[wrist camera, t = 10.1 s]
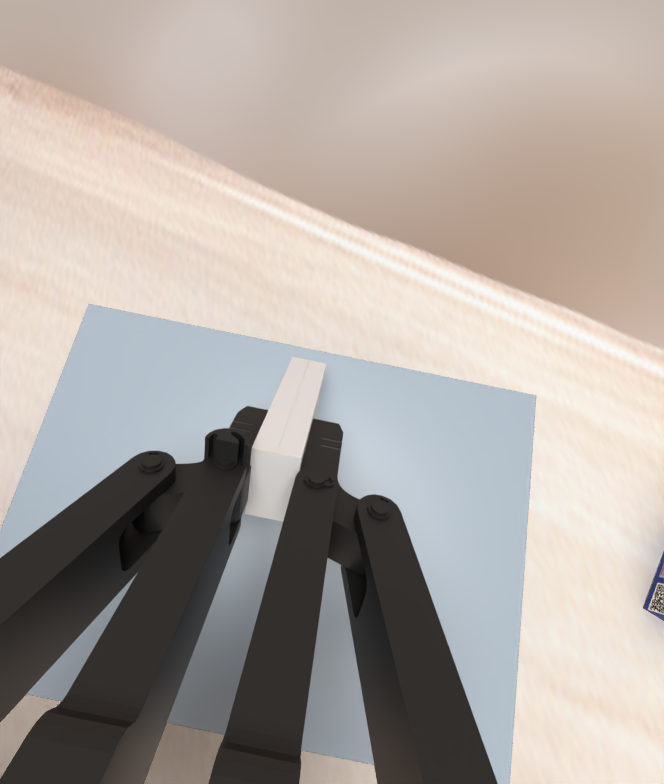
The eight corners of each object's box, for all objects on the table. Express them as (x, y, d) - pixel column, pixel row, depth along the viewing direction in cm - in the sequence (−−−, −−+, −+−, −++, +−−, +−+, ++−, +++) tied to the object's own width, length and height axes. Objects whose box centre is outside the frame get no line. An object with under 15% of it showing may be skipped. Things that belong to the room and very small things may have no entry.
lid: (-41, 669, 17) (-57, 677, 16) (96, 311, 21) (88, 303, 20) (500, 779, 17) (509, 792, 16) (527, 399, 21) (536, 395, 20)
